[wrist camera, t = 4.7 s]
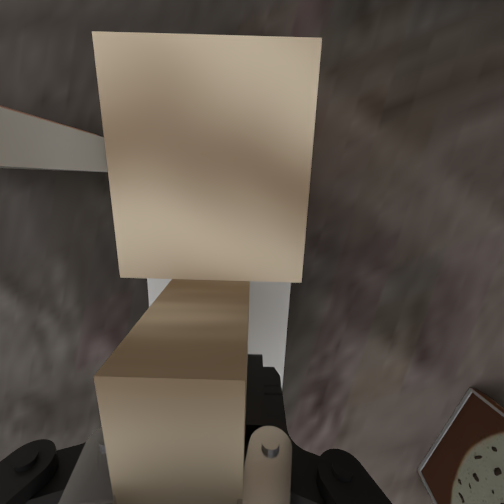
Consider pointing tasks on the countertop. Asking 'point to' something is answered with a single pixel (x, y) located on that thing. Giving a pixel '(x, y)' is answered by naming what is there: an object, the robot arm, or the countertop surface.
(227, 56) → the turner
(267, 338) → the mat
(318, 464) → the robot arm
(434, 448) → the food container
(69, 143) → the tile
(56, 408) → the countertop surface
